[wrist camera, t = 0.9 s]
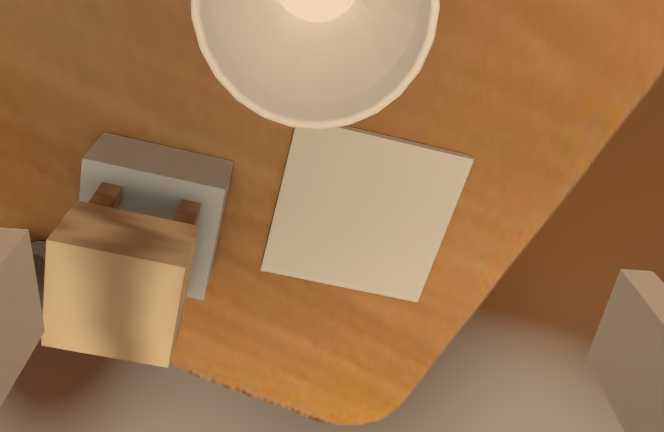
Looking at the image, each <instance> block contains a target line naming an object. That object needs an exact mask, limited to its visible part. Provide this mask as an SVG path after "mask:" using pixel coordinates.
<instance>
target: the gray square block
mask: <svg viewBox="0 0 664 432" xmlns="http://www.w3.org/2000/svg"><path fill="white" fill-rule="evenodd" d="M233 163H234V161H230V160H226V159H221V158H217V157H212V156H208V155H203V154H199V153H195V152H190V151H186V150H181V149H177V148H172V147H168V146H164V145H159V144H155V143H150V142H146V141H141V140H137V139H133V138H128V137H124V136H119V135H115V134H110V133H106V132H104V133H103V134H102V135H101V136H100V137H99V139H98V140H97V141H96V142H95V143H94V145H93V146H92V147H91V148H90V149H89V151H88V152H87V153H86V154H85V155H84V156H83V158H82V166H81V179H80V193H79V201H82V202H87V203H88V201H89V200H90V199H91V197H92V196H93V194H94V193H95V192H96V190H97V189H98V187H99V186H100V185H101V183H102V182H105V183H110V184H114V185H119V186H122V195H121V203H120V205H119V207H118V208H117V209H121V210H125V211H130V212H135V213H140V214H144V215H149V216H154V217H159V218H163V219H168V220H173V218H174V216H175V214H176V211H177V209H178V207H179V204H180V202H181V200H182V199H184V200H189V201H193V202H198V203H201V207H200V213H199V218H198V222H197V226H200V228H199V233H198V239H197V244H196V250H195V255H194V261H193V266H192V272H191V278H190V283H189V289H188V294H187V297H189V298H194V299H200V300H204V297H205V294H206V290H207V286H208V283H209V279H210V275H211V272H212V268H213V264H214V259H215V254H216V249H217V244H218V239H219V234H220V229H221V224H222V219H223V214H224V208H225V203H226V198H227V193H228V188H229V183H230V178H231V173H232V168H233Z"/></svg>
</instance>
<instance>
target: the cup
mask: <svg viewBox="0 0 664 432" xmlns="http://www.w3.org/2000/svg"><path fill="white" fill-rule="evenodd" d="M439 9H440V3H439V0H191V18H192V22H193V25H194V29H195V33H196V37H197V41H198V44H199V48H200V50H201V52H202V54H203V56H204V58H205V59H206V61H207V63H208V65H209V67H210V68H211V70H212V72H213V74H214V76H215V77H216V78H217V80H218V81H219V82H220V83H221V84H222V85H223V86H224V87H225V88H226V89H227V90H228V91H229V92H230V94H231V95H232V96H233V97H234V98H235V99H236V100H237V101H239V102H240V103H242V104H243V105H245V106H246V107H248V108H249V109H251V110H252V111H254V112H255V113H257V114H258V115H260V116H261V117H264V118H266V119H269V120H272V121H275V122H278V123H281V124H284V125H287V126H289V127H297V128H308V129H319V130H321V129H327V128H333V127H340V126H346V125H351V124H353V123H355V122H358V121H360V120H362V119H364V118H367V117H369V116H371V115H374V114H376V113H378V112H379V111H380V110H382V109H383V108H384V107H386V106H387V105H388V104H390V103H391V102H392V101H393V100H395V99H396V98H397V97H399V96H400V95H401V94H402V93H403V92H404V90H405V89H406V88H407V87H408V85H409V84H410V83H411V82H412V80H413V79H414V78H415V77H416V75H417V74H418V73H419V71H420V70H421V68H422V66H423V64H424V61H425V59H426V57H427V55H428V53H429V50H430V48H431V46H432V44H433V41H434V38H435V32H436V26H437V21H438V15H439Z"/></svg>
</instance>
